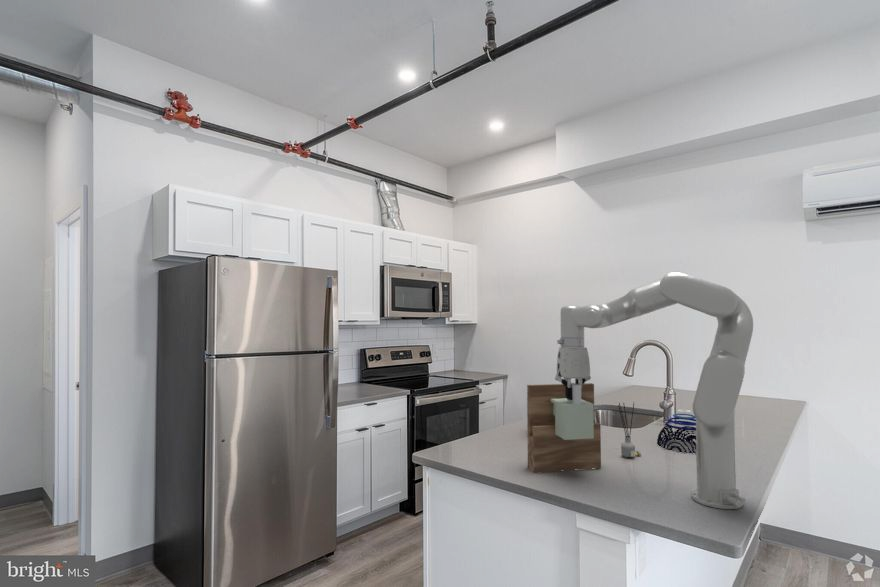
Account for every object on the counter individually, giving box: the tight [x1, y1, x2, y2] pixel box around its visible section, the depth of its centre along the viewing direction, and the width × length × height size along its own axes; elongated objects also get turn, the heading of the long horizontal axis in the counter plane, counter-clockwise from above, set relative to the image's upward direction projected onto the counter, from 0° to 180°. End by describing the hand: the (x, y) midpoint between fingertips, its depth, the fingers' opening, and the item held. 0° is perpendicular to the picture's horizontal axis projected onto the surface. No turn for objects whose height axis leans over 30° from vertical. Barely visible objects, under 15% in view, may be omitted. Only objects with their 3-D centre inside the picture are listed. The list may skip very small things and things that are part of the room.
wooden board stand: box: [526, 382, 602, 474], centre depth 163 cm, size 6×24×28 cm, turn 101°
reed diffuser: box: [617, 402, 642, 458], centre depth 176 cm, size 10×7×20 cm
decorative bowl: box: [656, 409, 696, 454], centre depth 189 cm, size 20×20×14 cm
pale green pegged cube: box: [551, 382, 595, 440], centre depth 157 cm, size 11×10×17 cm
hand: (573, 398), depth 156 cm, fingers closed on pale green pegged cube
